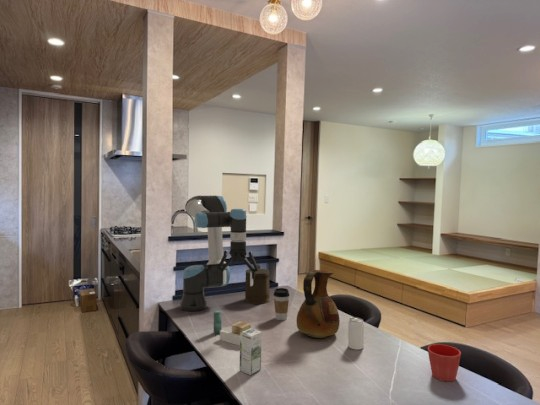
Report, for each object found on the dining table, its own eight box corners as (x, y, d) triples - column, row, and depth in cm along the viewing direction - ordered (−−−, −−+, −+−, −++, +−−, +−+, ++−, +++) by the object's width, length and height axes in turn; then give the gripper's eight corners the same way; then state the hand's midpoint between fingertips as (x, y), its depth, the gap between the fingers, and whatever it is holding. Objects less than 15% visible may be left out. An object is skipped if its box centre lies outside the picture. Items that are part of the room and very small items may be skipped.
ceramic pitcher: (347, 333, 170) (348, 270, 169) (322, 346, 155) (323, 277, 155) (313, 323, 184) (314, 264, 183) (287, 334, 169) (288, 270, 168)
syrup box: (249, 365, 138) (250, 327, 138) (261, 370, 134) (261, 331, 134) (239, 370, 134) (239, 331, 133) (251, 376, 130) (251, 336, 129)
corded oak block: (210, 334, 168) (210, 312, 168) (218, 330, 173) (219, 309, 173) (242, 343, 157) (242, 321, 157) (250, 339, 162) (250, 317, 162)
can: (364, 345, 157) (364, 317, 157) (363, 351, 151) (363, 322, 151) (349, 343, 159) (349, 316, 159) (347, 349, 153) (347, 320, 153)
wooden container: (265, 296, 231) (265, 261, 231) (272, 302, 217) (272, 266, 216) (242, 298, 227) (242, 263, 226) (248, 305, 212) (248, 267, 212)
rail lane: (219, 339, 162) (219, 330, 162) (234, 332, 170) (234, 323, 170) (244, 347, 154) (244, 337, 154) (258, 339, 163) (258, 330, 163)
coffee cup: (289, 316, 194) (289, 288, 193) (288, 321, 185) (289, 292, 185) (274, 315, 195) (274, 287, 194) (272, 320, 186) (272, 291, 186)
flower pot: (421, 369, 136) (422, 344, 135) (449, 368, 137) (450, 343, 136) (436, 384, 125) (437, 356, 125) (467, 383, 126) (467, 355, 126)
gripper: (211, 240, 174) (210, 284, 174) (261, 242, 169) (261, 288, 169) (216, 239, 181) (216, 281, 182) (265, 240, 176) (264, 284, 176)
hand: (238, 284), depth 175 cm, fingers open, 13 cm apart
